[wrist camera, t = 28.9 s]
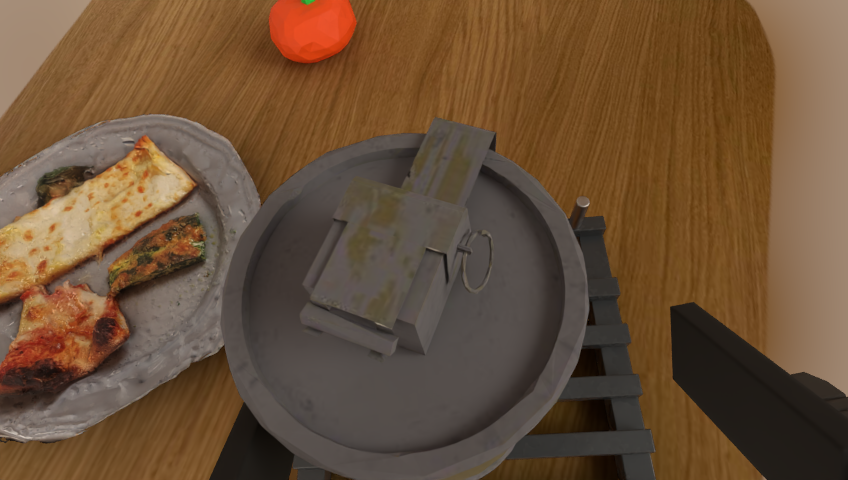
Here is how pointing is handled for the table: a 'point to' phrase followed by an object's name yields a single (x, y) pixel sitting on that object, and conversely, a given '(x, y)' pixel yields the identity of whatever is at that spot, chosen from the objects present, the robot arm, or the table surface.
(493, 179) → the canister
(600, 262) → the dish rack
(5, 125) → the table surface
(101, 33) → the table surface
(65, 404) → the food plate
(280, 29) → the pumpkin
